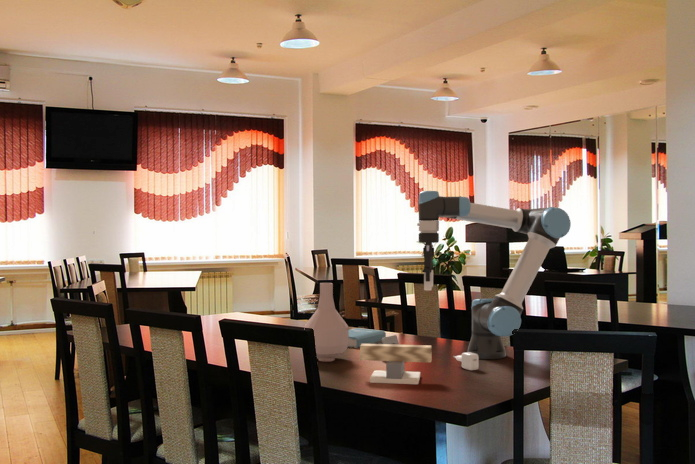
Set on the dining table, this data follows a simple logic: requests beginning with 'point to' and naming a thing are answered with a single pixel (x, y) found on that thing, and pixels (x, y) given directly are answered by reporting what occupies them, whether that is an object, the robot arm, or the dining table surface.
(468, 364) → the power adapter
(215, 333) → the dining table surface
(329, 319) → the vase
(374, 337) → the book
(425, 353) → the beam
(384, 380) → the fulcrum
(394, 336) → the electrical switch
